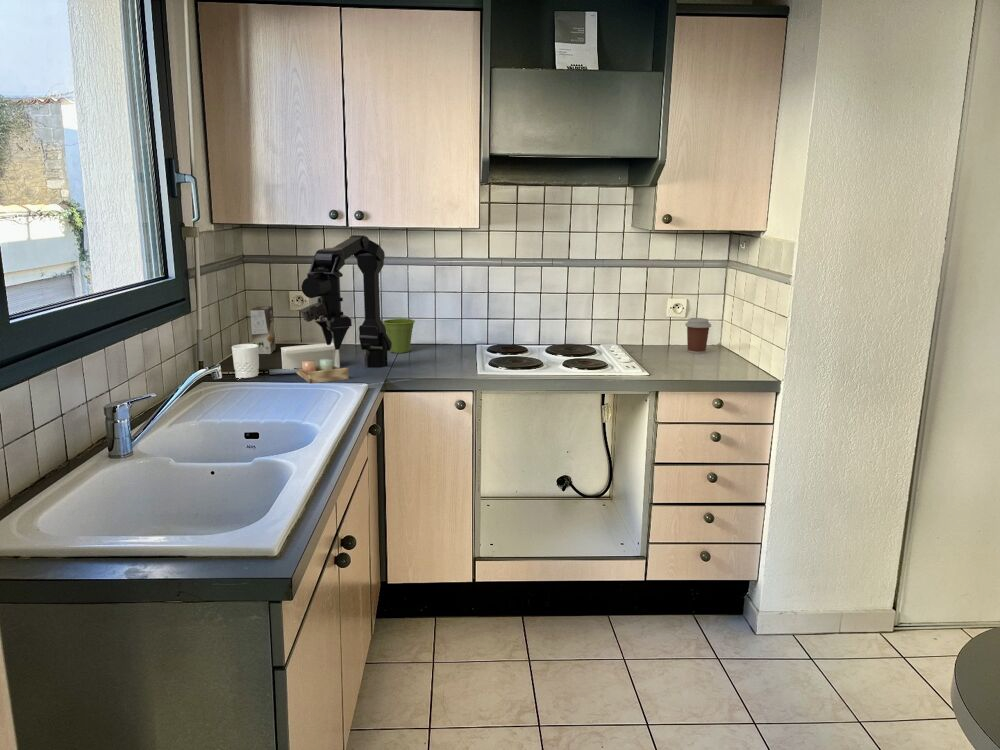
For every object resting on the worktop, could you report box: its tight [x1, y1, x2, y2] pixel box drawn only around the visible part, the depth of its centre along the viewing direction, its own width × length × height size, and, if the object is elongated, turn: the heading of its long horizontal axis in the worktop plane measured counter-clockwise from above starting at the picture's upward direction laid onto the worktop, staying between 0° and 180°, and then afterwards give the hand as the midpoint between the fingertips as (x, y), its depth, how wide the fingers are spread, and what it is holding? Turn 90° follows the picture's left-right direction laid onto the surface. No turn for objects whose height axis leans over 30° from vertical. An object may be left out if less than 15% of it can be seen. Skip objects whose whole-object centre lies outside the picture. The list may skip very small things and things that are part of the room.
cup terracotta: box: [301, 360, 316, 375], centre depth 235 cm, size 4×4×4 cm
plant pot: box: [381, 318, 416, 354], centre depth 273 cm, size 12×12×11 cm
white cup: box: [231, 343, 260, 380], centre depth 233 cm, size 8×8×10 cm
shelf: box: [280, 342, 341, 370], centre depth 242 cm, size 17×6×8 cm, turn 120°
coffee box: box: [249, 305, 276, 355], centre depth 271 cm, size 9×6×16 cm
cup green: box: [319, 358, 333, 371], centre depth 238 cm, size 4×4×4 cm
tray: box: [295, 365, 350, 384], centre depth 233 cm, size 12×15×4 cm
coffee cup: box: [684, 317, 712, 354], centre depth 274 cm, size 9×9×12 cm
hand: (332, 347), depth 220 cm, fingers open, 8 cm apart
